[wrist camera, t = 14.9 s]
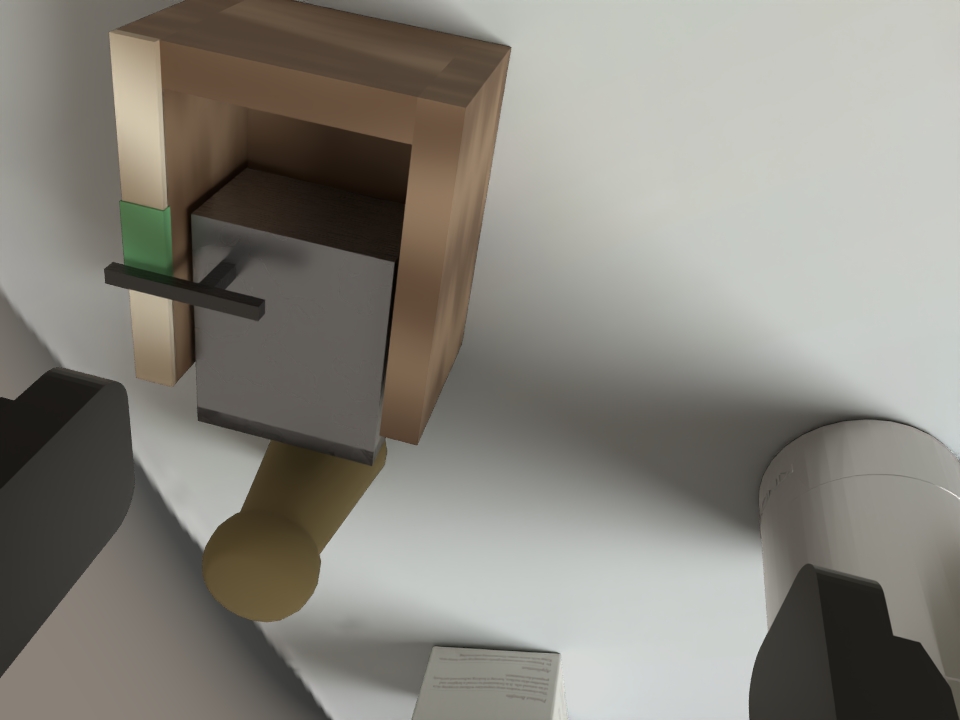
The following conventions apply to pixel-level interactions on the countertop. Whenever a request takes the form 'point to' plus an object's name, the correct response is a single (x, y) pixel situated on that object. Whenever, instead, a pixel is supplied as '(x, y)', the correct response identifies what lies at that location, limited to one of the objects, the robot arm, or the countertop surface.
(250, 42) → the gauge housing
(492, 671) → the skincare box
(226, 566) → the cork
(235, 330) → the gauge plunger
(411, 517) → the countertop surface
